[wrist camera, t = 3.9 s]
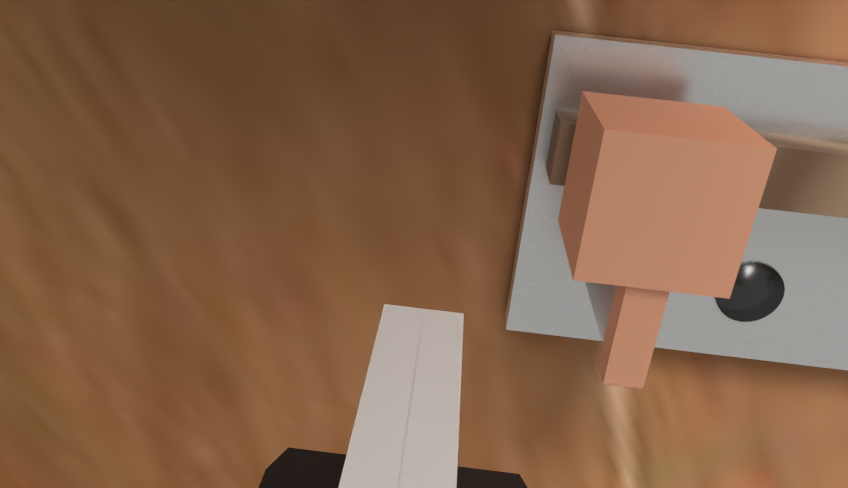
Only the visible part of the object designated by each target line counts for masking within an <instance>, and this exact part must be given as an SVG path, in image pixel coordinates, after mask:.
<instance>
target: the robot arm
mask: <svg viewBox="0 0 848 488" xmlns="http://www.w3.org/2000/svg"><path fill="white" fill-rule="evenodd" d="M463 320H464V313H455V312H447V311H439V310H430V309H422V308H413V307H405V306H397V305H388V304H384V307H383V311H382V315H381V319H380V323H379V327H378V331H377V335H376V339H375V343H374V347H373V351H372V355H371V359H370V363H369V367H368V371H367V375H366V379H365V383H364V387H363V391H362V395H361V399H360V403H359V407H358V411H357V415H356V419H355V423H354V427H353V431H352V435H351V439H350V443H349V447H348V451H347V455H344V454H336V453H328V452H320V451H312V450H304V449H295V448H288V449H287V450H286V451H285V452H284V453H282V454H281V455H280V456H279V457H278V458H277V459H276V460H275V461H274V462H273V463H272V464H271V465H270V466H269V467H268V468H267V469H266V470H265V473H264V476H263V478H262V481H261V483H260V486H259V488H527V486H526V485H525V483H524V481H523V480H522V478H521V476H520V475H519V474H513V473H505V472H497V471H489V470H481V469H473V468H465V467H457V465H458V441H459V417H460V393H461V369H462V344H463Z"/></svg>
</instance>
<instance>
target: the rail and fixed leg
mask: <svg viewBox="0 0 848 488" xmlns="http://www.w3.org/2000/svg"><path fill="white" fill-rule="evenodd" d="M577 117H578V112H574V111H565V110H556V111H555V117H554V123H553V128H552V134H551V140H550V146H549V151H548V157H547V163H546V171H547V175H548V179H549V183H550V184H552V185H560V186H564V185H565V180H566V175H567V170H568V164H569V159H570V154H571V148H572V143H573V138H574V133H575V127H576V122H577ZM757 133H758V134H759V135H761V136H762V137H763V138H764V139H766V140H767V141H768V142H770V143H771V144H772V145H773V146H775V147H776V148H777V151H776V154H775V157H774V160H773V163H772V167H771V170H770V173H769V176H768V179H767V182H766V186H765V189H764V192H763V195H762V198H761V201H760V205H759V208H762V209H771V210H780V211H788V212H797V213H806V214H815V215H823V216H832V217H841V218H848V142H843V141H834V140H825V139H816V138H807V137H799V136H790V135H781V134H772V133H763V132H757Z"/></svg>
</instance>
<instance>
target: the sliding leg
mask: <svg viewBox="0 0 848 488" xmlns="http://www.w3.org/2000/svg"><path fill="white" fill-rule="evenodd" d="M776 151H777V148H776V147H775V146H773V145H772V144H771V143H770V142H768V141H767V140H766V139H764V138H763V137H762V136H761V135H759V134H758V133H757V132H756V131H754V130H753V129H752V128H750V127H749V126H748V125H747V124H745V123H744V122H743V121H742V120H740V119H739V118H738V117H736V116H735V115H734V114H733V113H731V112H730V111H729V110H728V109H726V108H725V107H722V106H713V105H704V104H695V103H686V102H677V101H668V100H659V99H650V98H641V97H632V96H623V95H614V94H605V93H596V92H587V91H582V96H581V101H580V106H579V112H578V117H577V122H576V127H575V133H574V138H573V143H572V148H571V154H570V159H569V164H568V170H567V175H566V180H565V185H564V191H563V196H562V201H561V207H560V212H559V217H558V222H559V226H560V230H561V234H562V238H563V242H564V246H565V250H566V254H567V258H568V262H569V266H570V270H571V274H572V278H573V280H574V281H583V282H585V283H586V287H587V290H588V294H589V297H590V301H591V304H592V308H593V311H594V315H595V318H596V322H597V325H598V329H599V332H600V336H601V339H602V343H603V344H602V348H601V353H600V357H599V361H598V367H599V371H600V375H601V379H602V382H603V384H609V385H617V386H625V387H633V388H642V389H643V388H644V384H645V380H646V377H647V373H648V369H649V366H650V362H651V358H652V355H653V351H654V347H655V344H656V340H657V337H658V333H659V329H660V326H661V322H662V318H663V315H664V311H665V307H666V304H667V300H668V296H669V293H670V292H676V293H685V294H693V295H702V296H710V297H719V298H727V299H730V296H731V293H732V290H733V287H734V284H735V280H736V277H737V274H738V271H739V268H740V265H741V261H742V258H743V255H744V252H745V249H746V246H747V242H748V239H749V236H750V233H751V230H752V227H753V223H754V220H755V217H756V214H757V211H758V208H759V205H760V201H761V198H762V195H763V192H764V189H765V186H766V182H767V179H768V176H769V173H770V170H771V167H772V163H773V160H774V157H775V154H776Z"/></svg>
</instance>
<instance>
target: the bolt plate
mask: <svg viewBox="0 0 848 488" xmlns="http://www.w3.org/2000/svg"><path fill="white" fill-rule="evenodd" d="M582 91H587V92H596V93H605V94H614V95H623V96H632V97H641V98H650V99H659V100H668V101H677V102H686V103H695V104H704V105H713V106H722V107H725V108H726V109H728V110H729V111H730V112H731V113H733V114H734V115H735V116H736V117H738V118H739V119H740V120H742V121H743V122H744V123H745V124H747V125H748V126H749V127H750V128H752V129H753V130H754V131H756V132H763V133H772V134H781V135H790V136H799V137H807V138H816V139H825V140H834V141H843V142H848V62H841V61H832V60H823V59H814V58H805V57H795V56H786V55H777V54H768V53H759V52H749V51H740V50H731V49H722V48H712V47H703V46H694V45H685V44H676V43H666V42H657V41H648V40H639V39H630V38H620V37H611V36H602V35H593V34H583V33H574V32H565V31H556V30H552V36H551V42H550V48H549V54H548V60H547V66H546V72H545V78H544V84H543V90H542V96H541V102H540V108H539V115H538V121H537V127H536V133H535V139H534V145H533V151H532V157H531V163H530V169H529V175H528V181H527V187H526V193H525V199H524V205H523V211H522V217H521V223H520V229H519V235H518V241H517V247H516V253H515V259H514V265H513V271H512V278H511V284H510V290H509V296H508V302H507V308H506V314H505V323H506V330H513V331H521V332H530V333H538V334H546V335H555V336H563V337H572V338H580V339H588V340H597V341H602V339H601V336H600V332H599V329H598V325H597V322H596V318H595V315H594V311H593V308H592V304H591V301H590V297H589V294H588V290H587V287H586V283H585V282H583V281H574V280H573V278H572V274H571V270H570V266H569V262H568V258H567V254H566V250H565V246H564V242H563V238H562V234H561V230H560V226H559V222H558V217H559V212H560V207H561V201H562V196H563V191H564V186H560V185H552V184H550V183H549V179H548V175H547V171H546V163H547V157H548V151H549V146H550V140H551V134H552V128H553V123H554V117H555V111H556V110H565V111H574V112H579V106H580V101H581V96H582ZM655 348H664V349H672V350H680V351H689V352H697V353H705V354H714V355H722V356H731V357H739V358H747V359H756V360H764V361H772V362H781V363H789V364H798V365H806V366H814V367H823V368H831V369H839V370H848V218H841V217H832V216H823V215H815V214H806V213H797V212H788V211H780V210H771V209H762V208H758V211H757V214H756V217H755V220H754V223H753V227H752V230H751V233H750V236H749V239H748V242H747V246H746V249H745V252H744V255H743V258H742V261H741V265H740V268H739V271H738V274H737V277H736V280H735V284H734V287H733V290H732V293H731V296H730V299H727V298H719V297H710V296H702V295H693V294H685V293H676V292H670V293H669V296H668V300H667V304H666V307H665V311H664V315H663V318H662V322H661V326H660V329H659V333H658V337H657V340H656V344H655Z"/></svg>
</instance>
